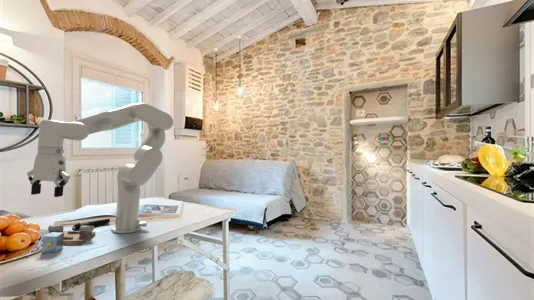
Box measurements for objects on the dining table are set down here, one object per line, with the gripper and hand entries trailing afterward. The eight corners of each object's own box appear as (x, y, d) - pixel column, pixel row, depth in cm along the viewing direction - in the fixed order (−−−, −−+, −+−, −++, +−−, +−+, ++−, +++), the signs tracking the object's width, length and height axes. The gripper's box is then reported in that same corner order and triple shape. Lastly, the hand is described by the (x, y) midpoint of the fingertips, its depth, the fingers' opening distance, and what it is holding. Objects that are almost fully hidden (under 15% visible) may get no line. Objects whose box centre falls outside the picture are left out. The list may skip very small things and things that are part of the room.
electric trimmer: (111, 225, 128) (111, 219, 128) (74, 231, 116) (74, 224, 116) (107, 223, 131) (108, 217, 131) (71, 229, 118) (71, 223, 118)
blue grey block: (51, 247, 98) (52, 231, 98) (63, 247, 99) (64, 232, 99) (40, 253, 92) (41, 237, 92) (54, 253, 93) (55, 237, 93)
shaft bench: (97, 235, 113) (98, 222, 113) (84, 244, 102) (85, 230, 102) (57, 234, 110) (58, 221, 110) (39, 244, 99) (40, 229, 99)
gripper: (78, 153, 102) (75, 195, 102) (39, 150, 104) (36, 191, 104) (62, 153, 95) (58, 199, 95) (20, 150, 97) (16, 194, 97)
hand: (47, 195), depth 99 cm, fingers open, 9 cm apart
